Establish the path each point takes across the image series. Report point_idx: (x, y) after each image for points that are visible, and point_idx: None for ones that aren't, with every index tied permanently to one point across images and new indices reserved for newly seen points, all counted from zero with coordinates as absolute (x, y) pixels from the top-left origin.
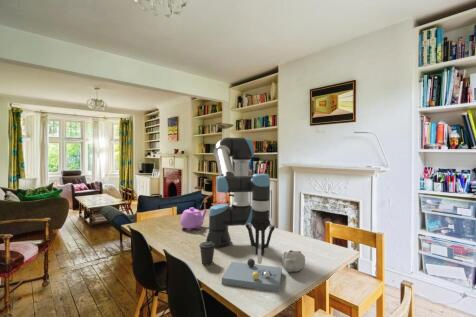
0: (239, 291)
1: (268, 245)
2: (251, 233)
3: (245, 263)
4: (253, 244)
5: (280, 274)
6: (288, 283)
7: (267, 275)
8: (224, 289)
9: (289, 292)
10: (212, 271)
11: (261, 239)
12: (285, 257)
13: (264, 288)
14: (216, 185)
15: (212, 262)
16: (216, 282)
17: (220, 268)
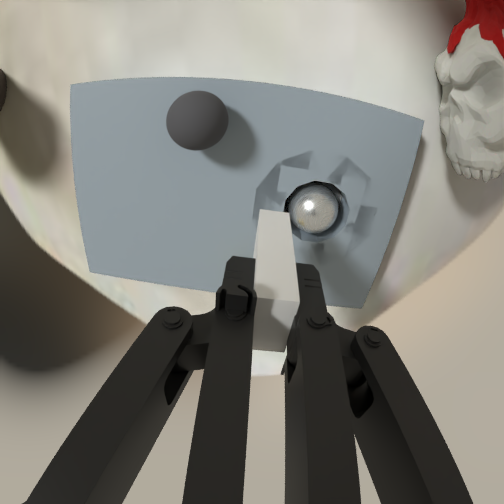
0: (187, 299)
1: (368, 394)
2: (125, 493)
3: (158, 80)
4: (186, 374)
5: (397, 209)
6: (415, 223)
7: (319, 232)
8: (128, 291)
9: (395, 287)
10: (29, 163)
11: (288, 452)
12: (483, 137)
13: None
14: None
15: (4, 83)
16: (80, 249)
17: (46, 122)
